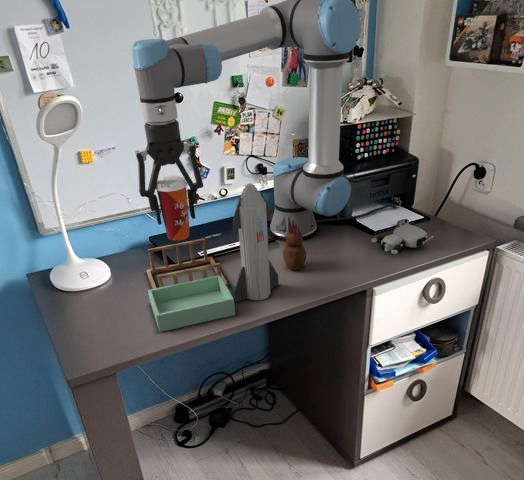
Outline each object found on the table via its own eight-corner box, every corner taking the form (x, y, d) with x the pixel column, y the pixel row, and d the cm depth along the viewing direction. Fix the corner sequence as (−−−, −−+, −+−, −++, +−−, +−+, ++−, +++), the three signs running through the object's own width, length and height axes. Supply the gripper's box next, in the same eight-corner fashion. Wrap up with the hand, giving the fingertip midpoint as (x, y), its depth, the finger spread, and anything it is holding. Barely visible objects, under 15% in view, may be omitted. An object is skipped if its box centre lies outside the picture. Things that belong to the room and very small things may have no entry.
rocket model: (271, 280, 148) (266, 173, 130) (286, 290, 143) (282, 181, 125) (228, 296, 142) (216, 187, 124) (242, 307, 137) (232, 195, 119)
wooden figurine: (280, 265, 155) (278, 217, 146) (297, 260, 157) (296, 212, 148) (292, 275, 150) (290, 225, 141) (309, 269, 152) (309, 220, 143)
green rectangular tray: (221, 290, 145) (219, 274, 142) (235, 314, 135) (233, 298, 132) (151, 305, 141) (147, 289, 138) (159, 332, 130) (156, 315, 127)
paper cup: (188, 243, 128) (180, 186, 120) (158, 241, 130) (148, 185, 121) (198, 230, 134) (191, 175, 126) (169, 228, 136) (161, 174, 127)
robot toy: (394, 263, 154) (434, 247, 158) (395, 249, 151) (435, 233, 156) (368, 248, 163) (407, 233, 167) (368, 234, 160) (407, 219, 164)
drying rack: (212, 260, 160) (209, 237, 156) (228, 287, 146) (225, 262, 142) (147, 273, 156) (142, 249, 151) (157, 302, 142) (152, 277, 137)
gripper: (115, 130, 111) (136, 232, 124) (210, 118, 115) (220, 218, 129) (112, 123, 116) (132, 221, 130) (202, 112, 121) (213, 207, 134)
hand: (176, 219), depth 129 cm, fingers closed on paper cup, 8 cm apart
